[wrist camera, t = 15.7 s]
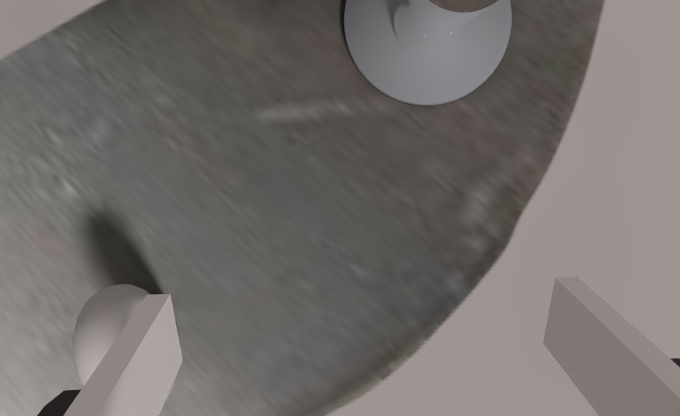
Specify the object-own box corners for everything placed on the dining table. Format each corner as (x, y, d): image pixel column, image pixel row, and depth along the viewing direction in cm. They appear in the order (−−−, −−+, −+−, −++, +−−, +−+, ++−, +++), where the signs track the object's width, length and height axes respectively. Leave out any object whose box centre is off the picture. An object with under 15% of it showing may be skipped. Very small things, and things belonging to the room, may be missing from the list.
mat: (330, 89, 36) (330, 87, 36) (360, -74, 36) (360, -81, 35) (490, 119, 37) (493, 117, 36) (522, -44, 36) (526, -49, 35)
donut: (119, 281, 37) (38, 313, 27) (156, 267, 37) (88, 294, 27) (162, 386, 37) (98, 456, 27) (199, 372, 37) (147, 437, 27)
